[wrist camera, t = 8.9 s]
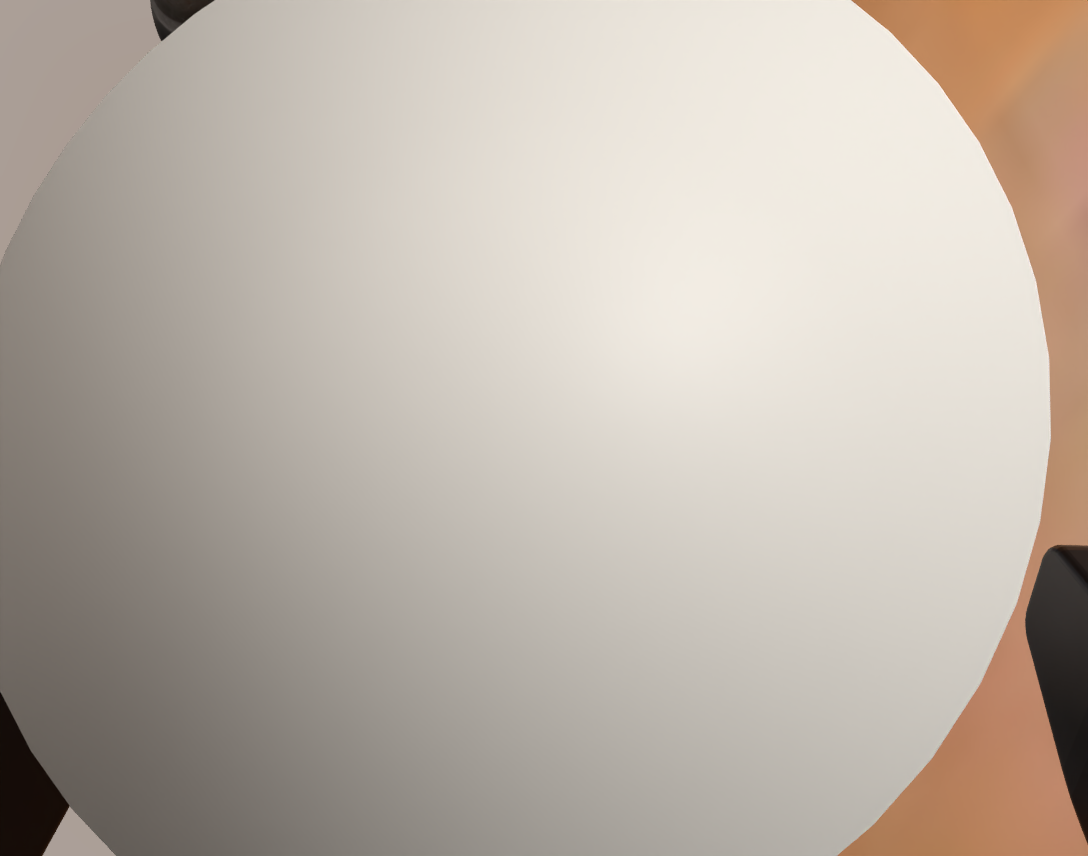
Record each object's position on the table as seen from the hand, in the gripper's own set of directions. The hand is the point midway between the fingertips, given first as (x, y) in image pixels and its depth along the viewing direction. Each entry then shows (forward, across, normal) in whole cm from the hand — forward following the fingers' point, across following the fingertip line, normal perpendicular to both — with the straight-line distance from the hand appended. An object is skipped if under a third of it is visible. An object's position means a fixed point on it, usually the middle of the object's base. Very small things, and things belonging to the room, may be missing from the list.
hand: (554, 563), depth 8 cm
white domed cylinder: (+6, 0, +5) cm, 8 cm away
